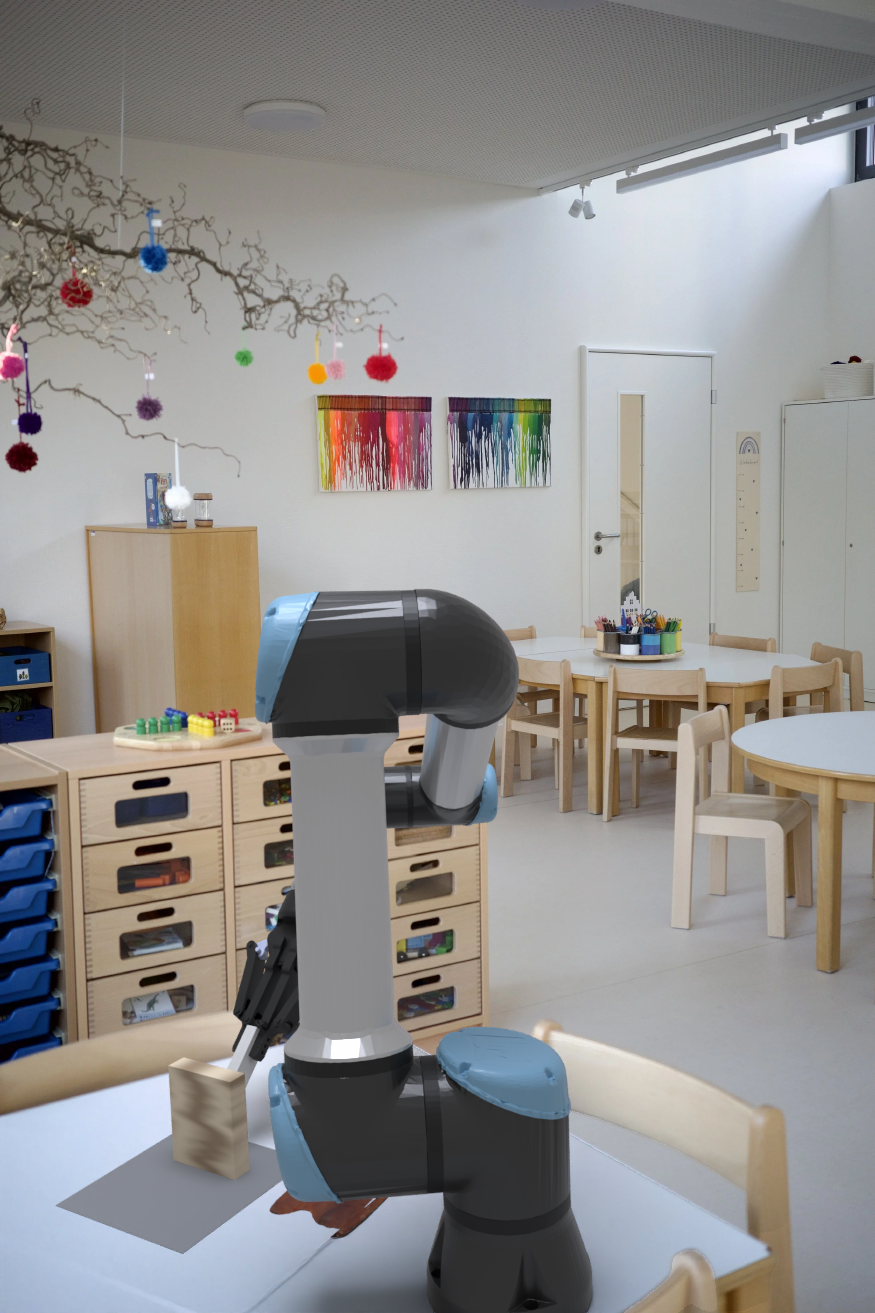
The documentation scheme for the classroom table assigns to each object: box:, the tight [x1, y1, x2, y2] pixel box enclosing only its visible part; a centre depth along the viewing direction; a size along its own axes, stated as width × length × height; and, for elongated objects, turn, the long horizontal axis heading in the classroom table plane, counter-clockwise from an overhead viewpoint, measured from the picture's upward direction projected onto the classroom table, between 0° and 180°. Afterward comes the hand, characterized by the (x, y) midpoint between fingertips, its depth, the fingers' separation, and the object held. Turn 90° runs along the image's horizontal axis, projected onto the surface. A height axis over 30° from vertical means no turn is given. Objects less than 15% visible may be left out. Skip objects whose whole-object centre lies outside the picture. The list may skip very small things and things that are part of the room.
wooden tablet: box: [269, 1190, 388, 1239], centre depth 132 cm, size 27×10×2 cm, turn 153°
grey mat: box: [55, 1133, 283, 1255], centre depth 129 cm, size 18×20×1 cm
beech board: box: [167, 1056, 250, 1180], centre depth 132 cm, size 9×2×11 cm, turn 59°
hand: (233, 1084), depth 136 cm, fingers closed
